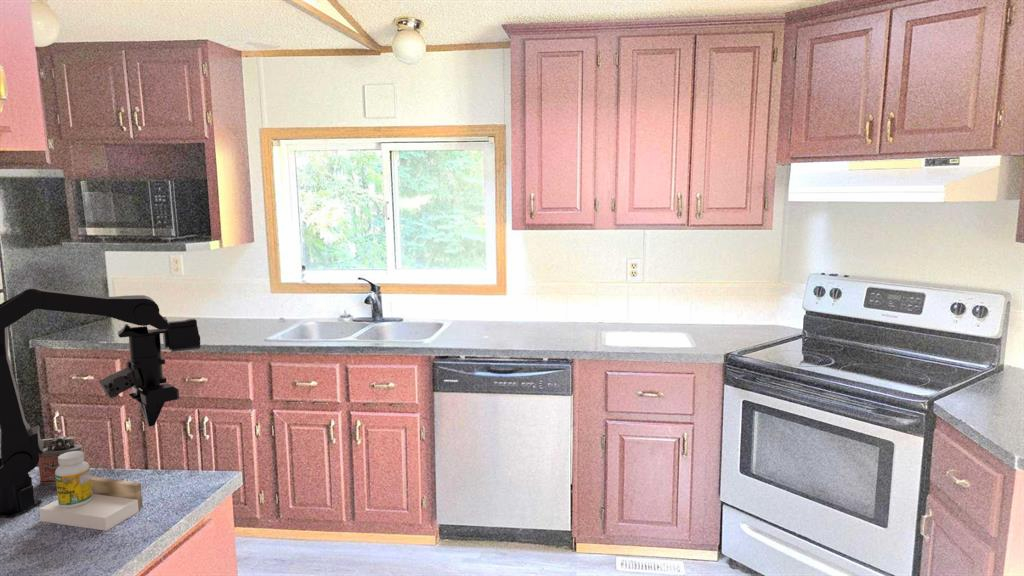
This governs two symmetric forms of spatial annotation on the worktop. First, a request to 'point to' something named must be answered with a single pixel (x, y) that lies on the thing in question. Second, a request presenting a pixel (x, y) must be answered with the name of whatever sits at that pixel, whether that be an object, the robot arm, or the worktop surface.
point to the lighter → (54, 457)
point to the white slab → (91, 512)
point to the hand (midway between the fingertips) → (151, 425)
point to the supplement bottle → (73, 480)
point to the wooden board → (117, 488)
